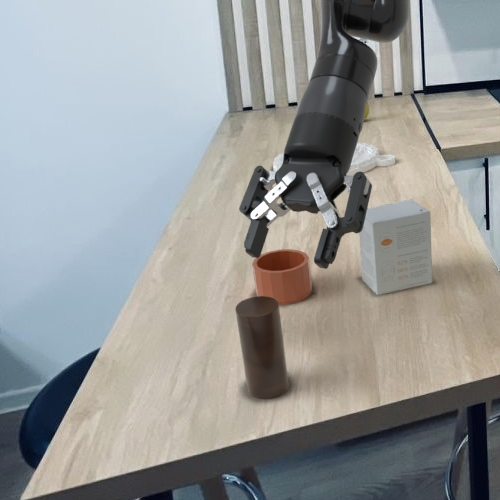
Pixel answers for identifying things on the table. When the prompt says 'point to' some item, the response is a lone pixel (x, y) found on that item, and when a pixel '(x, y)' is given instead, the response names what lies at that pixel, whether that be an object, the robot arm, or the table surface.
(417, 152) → the table surface
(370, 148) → the medallion
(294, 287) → the socket cup
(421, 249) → the small box
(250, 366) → the peg
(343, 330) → the table surface
